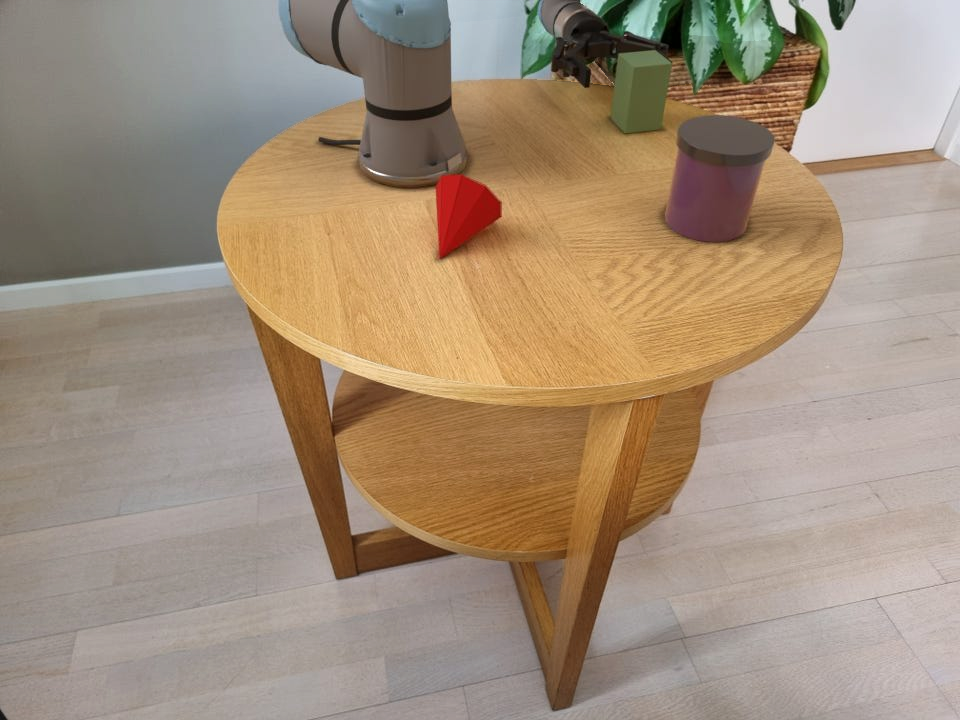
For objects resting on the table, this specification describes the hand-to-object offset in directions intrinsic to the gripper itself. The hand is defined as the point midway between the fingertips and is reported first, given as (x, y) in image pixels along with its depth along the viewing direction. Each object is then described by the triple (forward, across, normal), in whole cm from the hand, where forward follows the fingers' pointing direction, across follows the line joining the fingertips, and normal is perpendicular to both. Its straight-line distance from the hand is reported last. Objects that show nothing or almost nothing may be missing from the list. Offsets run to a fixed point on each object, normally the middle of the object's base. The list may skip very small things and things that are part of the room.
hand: (629, 75), depth 109 cm
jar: (+34, +3, -6) cm, 35 cm away
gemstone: (+30, +34, -6) cm, 46 cm away
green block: (+5, 0, -6) cm, 8 cm away
